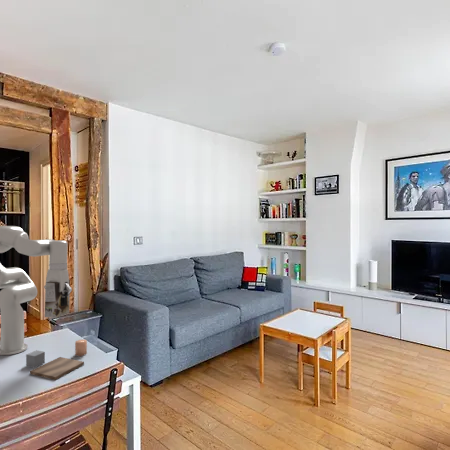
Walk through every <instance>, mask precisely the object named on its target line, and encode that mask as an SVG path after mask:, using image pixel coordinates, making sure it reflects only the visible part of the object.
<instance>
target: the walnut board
mask: <svg viewBox="0 0 450 450" xmlns="http://www.w3.org/2000/svg"><path fill="white" fill-rule="evenodd" d="M83 365H85V362H84V361H82V360H77V359H72V358H66V357H62V356H59V357H57V358H55V359H53V360H50V361H48V362H47V363H43V364H41V365H39V366H37V367H35V368H34V369H31V370H29V375H32V376H36V377H41V378H46V379H50V380H53V381H56V380H58V379H59V378H62V377H64V376H66V375H68V374H69V373H71V372H73V371H75V370H76V369H78V368H80V367H82V366H83Z"/></svg>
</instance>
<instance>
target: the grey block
mask: <svg viewBox="0 0 450 450" xmlns="http://www.w3.org/2000/svg"><path fill="white" fill-rule="evenodd" d="M45 354H46V352H45V351H41V350H37V349H36V350H34V351H32V352H30V353H27V354H25V355H26V356H25V357H26V359H25V360H26V361H25V363H26V364H25V365H26V367H29V368H30V367H31V368H34V369H35V368H38V367H40V366H42V365H44V364H46V363H45V361H46V359H45V357H46V356H45Z"/></svg>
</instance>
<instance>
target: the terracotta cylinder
mask: <svg viewBox="0 0 450 450" xmlns="http://www.w3.org/2000/svg"><path fill="white" fill-rule="evenodd" d="M87 343H88V341H87V339H78V340H75V342H74V344H75V346H74V347H75V348H74V349H75V350H74V353H75V354H74V355H75V356H76V357H81V356H85V355H86V354H88V348H87V347H88V344H87Z"/></svg>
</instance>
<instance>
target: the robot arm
mask: <svg viewBox="0 0 450 450" xmlns="http://www.w3.org/2000/svg"><path fill="white" fill-rule="evenodd" d="M68 245H69V244H68V242H67V241H66V240H63V239H62V240H60V239H59V240H55V239H51V238H50V239H49V238H48V239H29V235H28V233H27V232H25V231H24V230H23V228H21V227H20V226H16V225H0V254H3V253H5V252H7V251H9V250H10V249H12V248H14V249H15V251H17V253H19V254H21V255H25V256H28V257H34V258H35V257H42V256H43V257H44V256H49V257H48V258H49V259H48V260H49V261H48V269H47V272H46V278H45V283H46V282H58V283H59V292H61V296H62V298H61V306H65V305H67V297H68V295H69V294H70V293H71V292H72V291H73V289H72V287H71V285H70V286H69V280H70V278H69V277H70V276H69V275H70V274H69V270H68ZM43 288H44V289H45V288H46V284H45V285H44V286H43ZM0 289H1V290H0V356H10V355H16V354H19V353H23V352H24V351H26V350H27V349H28V348H29V347H28V344H27V343H25V312H24V309H23V307H22V306H21V304H23V303H27V302H29V301H33V300H34V299H35V298H36V297H37V295H38V288H37V286H36V284H35V283H34V282H33V280H32V279H31V278H30V276H29V275H28V274H27V273H26V271H24V270H23V269H22V268H20V267H17V266H14V267H5V266H4V265H2V263H1V262H0ZM64 289H65V290H64ZM63 292H65V294H64V293H63Z"/></svg>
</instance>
